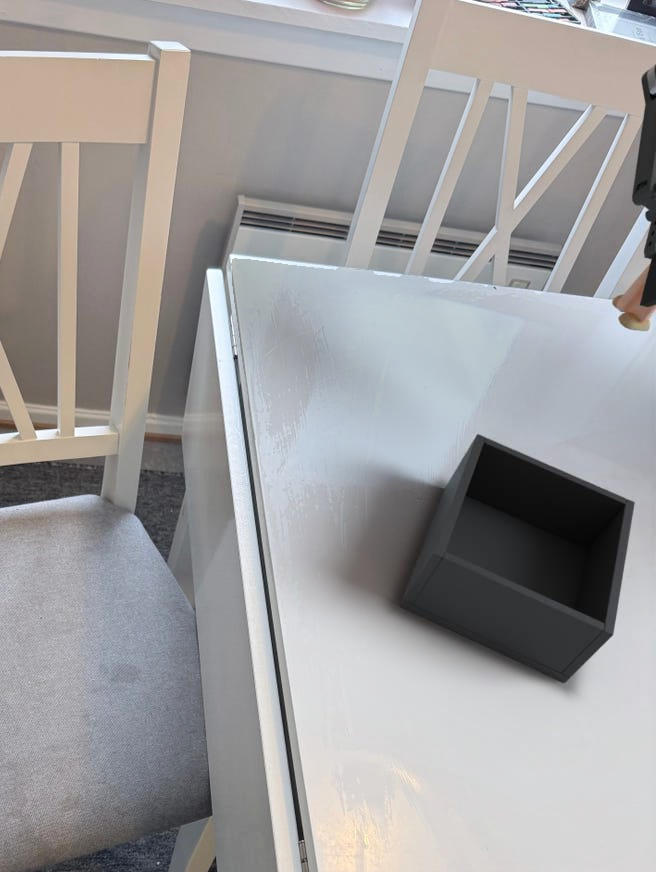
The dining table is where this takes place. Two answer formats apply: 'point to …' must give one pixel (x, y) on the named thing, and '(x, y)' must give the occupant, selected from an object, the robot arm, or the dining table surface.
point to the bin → (523, 559)
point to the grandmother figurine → (634, 306)
